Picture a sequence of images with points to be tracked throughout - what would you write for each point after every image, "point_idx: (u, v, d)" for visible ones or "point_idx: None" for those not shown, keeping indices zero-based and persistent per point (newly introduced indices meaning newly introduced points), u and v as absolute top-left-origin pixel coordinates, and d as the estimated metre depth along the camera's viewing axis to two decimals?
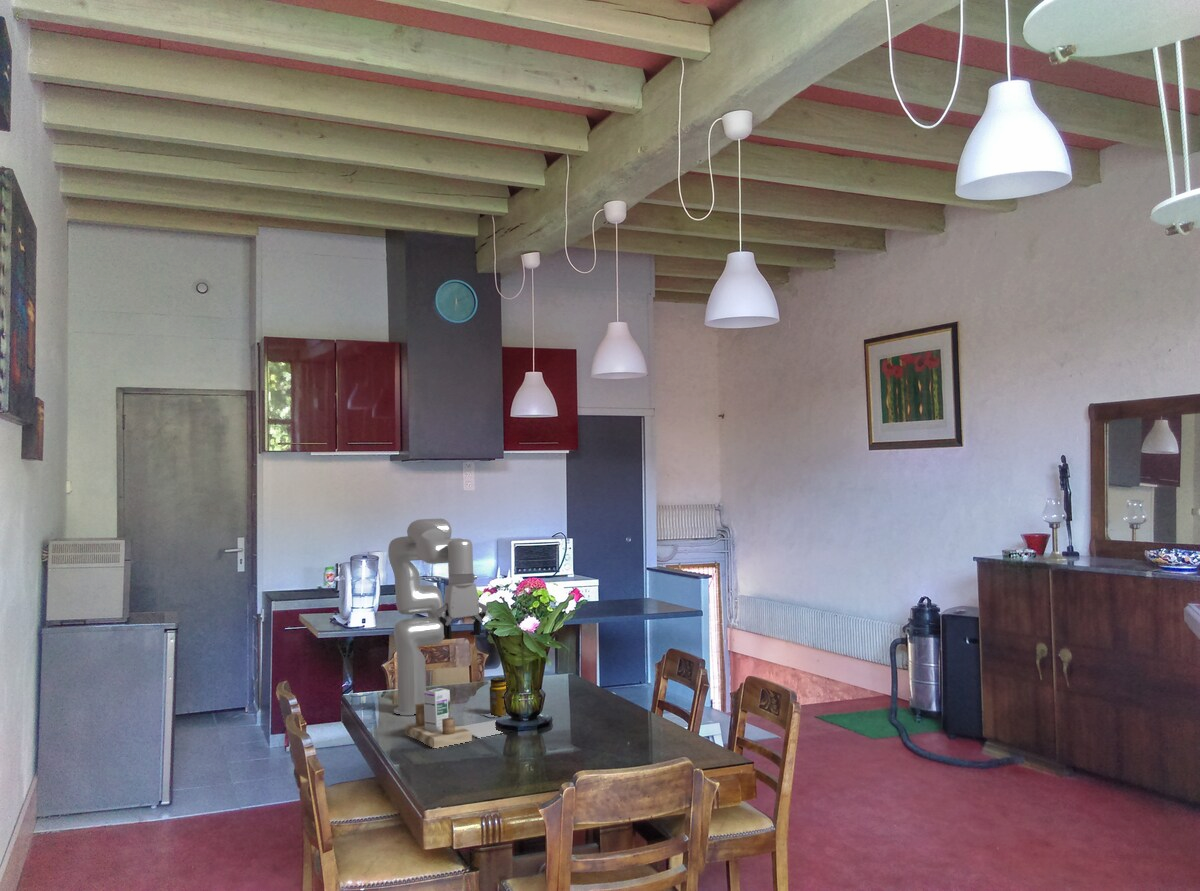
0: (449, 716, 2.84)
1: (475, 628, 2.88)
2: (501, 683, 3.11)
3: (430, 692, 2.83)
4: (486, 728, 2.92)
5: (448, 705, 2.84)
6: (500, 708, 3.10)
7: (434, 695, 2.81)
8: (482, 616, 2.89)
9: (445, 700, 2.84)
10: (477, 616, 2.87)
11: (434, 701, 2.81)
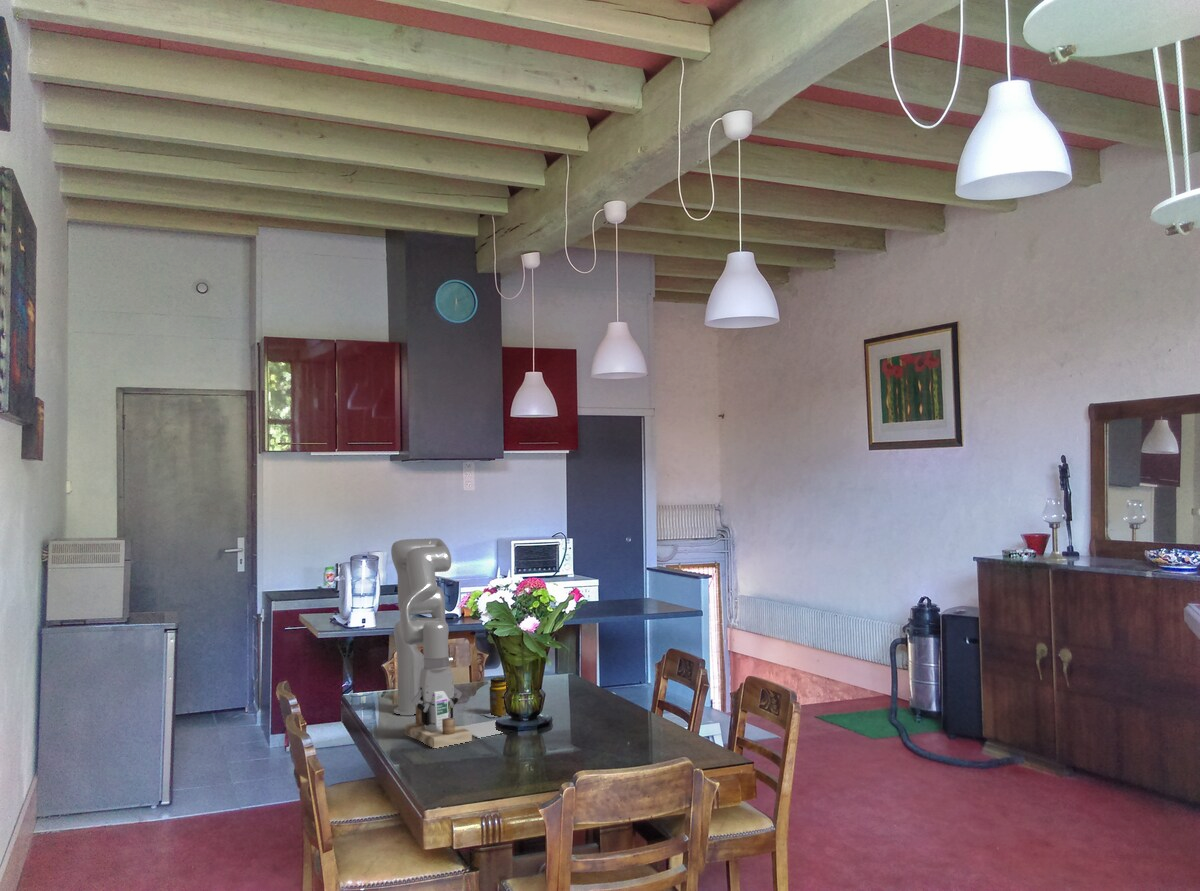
0: (449, 716, 2.84)
1: None
2: (501, 683, 3.11)
3: None
4: (486, 728, 2.92)
5: (448, 705, 2.84)
6: (500, 708, 3.10)
7: (434, 695, 2.81)
8: (454, 702, 2.87)
9: (445, 700, 2.84)
10: (450, 701, 2.85)
11: (434, 701, 2.81)
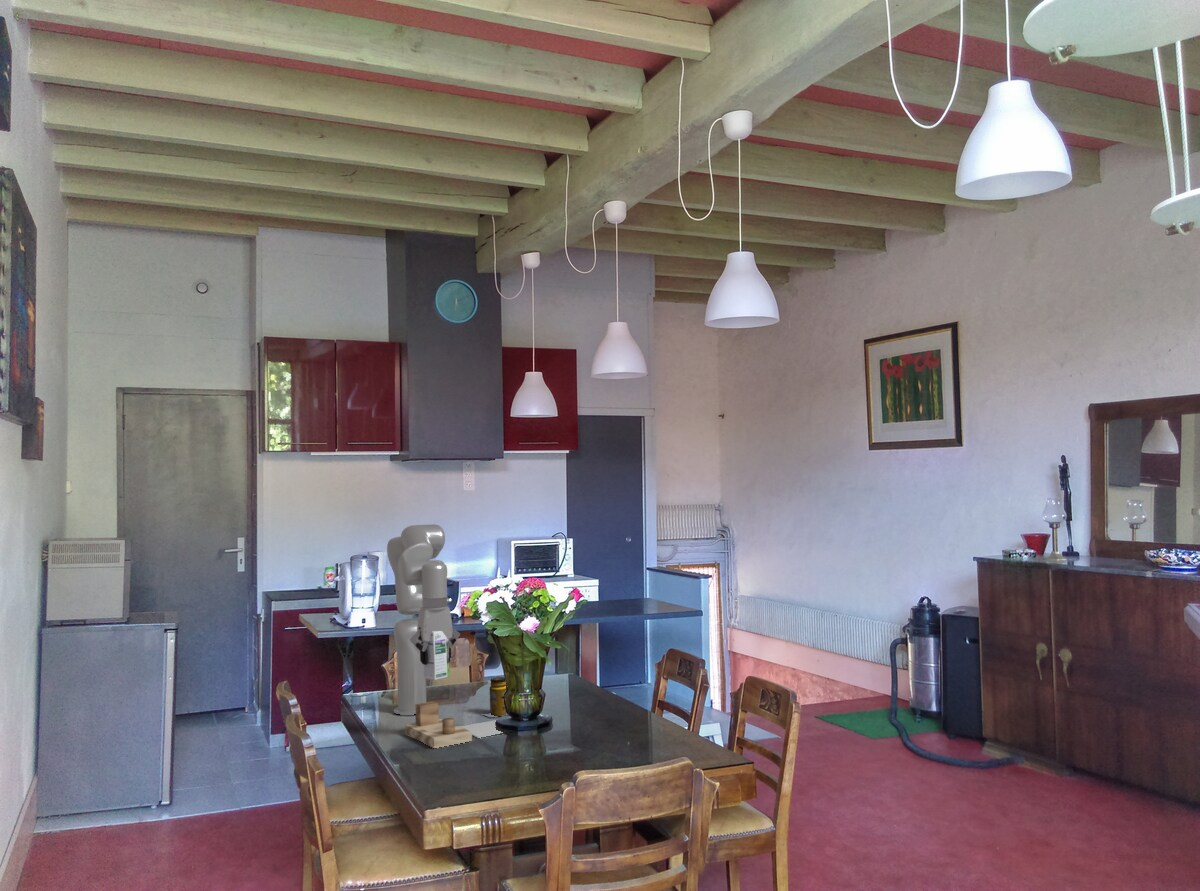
0: (447, 656, 2.86)
1: None
2: (501, 683, 3.11)
3: None
4: (486, 728, 2.92)
5: (446, 645, 2.86)
6: (500, 708, 3.10)
7: (433, 635, 2.82)
8: (452, 642, 2.88)
9: (443, 640, 2.85)
10: (448, 641, 2.87)
11: (432, 640, 2.82)
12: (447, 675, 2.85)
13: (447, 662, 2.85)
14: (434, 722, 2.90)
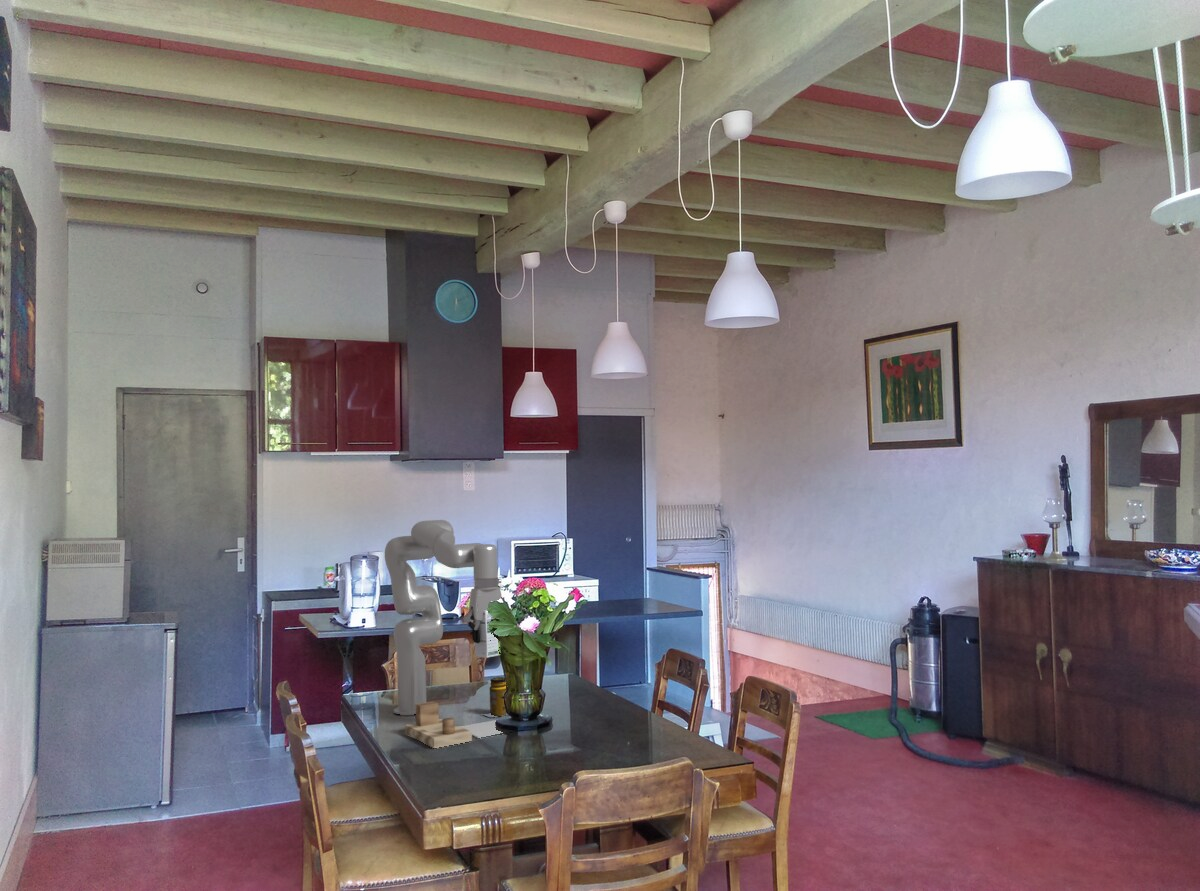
0: None
1: None
2: (501, 683, 3.11)
3: None
4: (486, 728, 2.92)
5: None
6: (500, 708, 3.10)
7: (485, 614, 2.91)
8: None
9: None
10: None
11: (484, 619, 2.91)
12: (498, 653, 2.93)
13: (498, 640, 2.94)
14: (434, 722, 2.90)
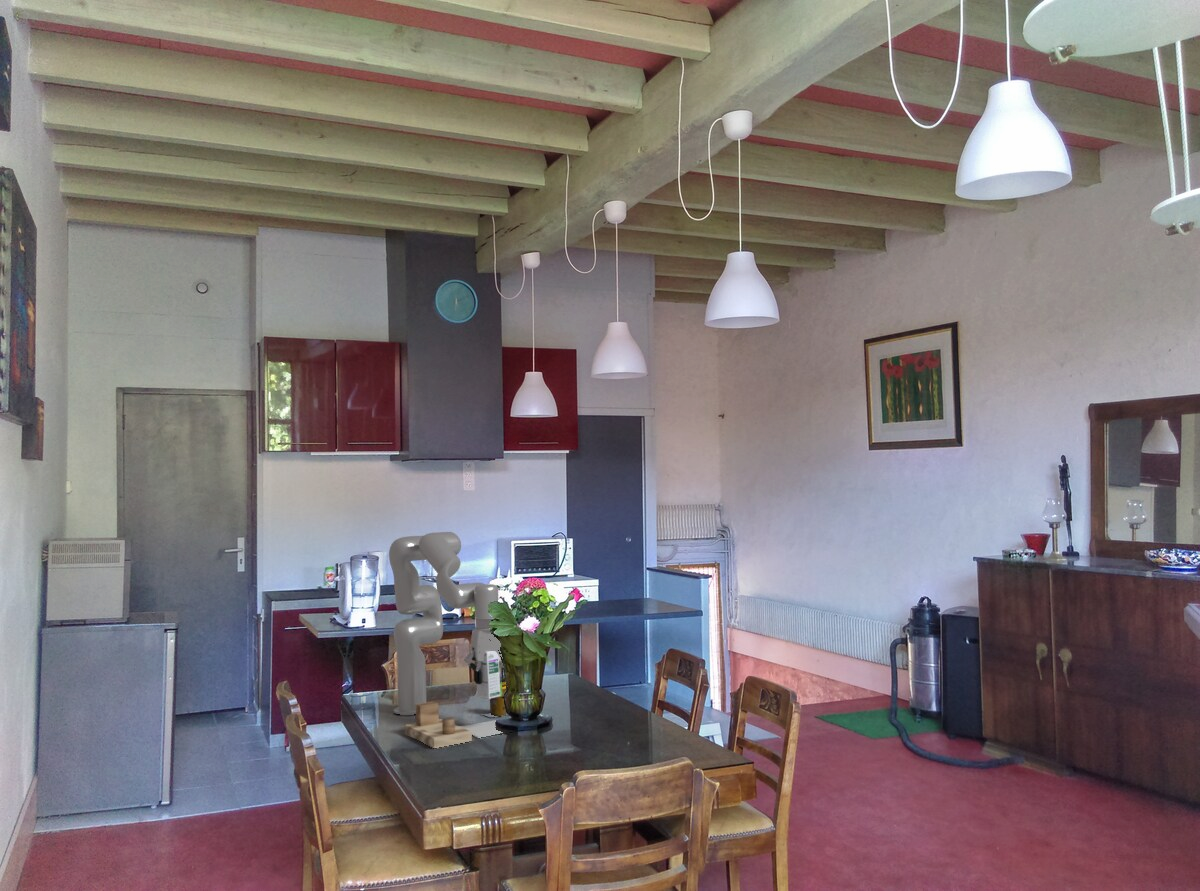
0: (500, 675, 2.93)
1: None
2: None
3: None
4: (486, 728, 2.92)
5: (499, 665, 2.93)
6: (500, 708, 3.10)
7: (486, 655, 2.90)
8: None
9: (496, 660, 2.93)
10: None
11: (486, 660, 2.90)
12: (500, 694, 2.92)
13: (500, 681, 2.93)
14: (434, 722, 2.90)
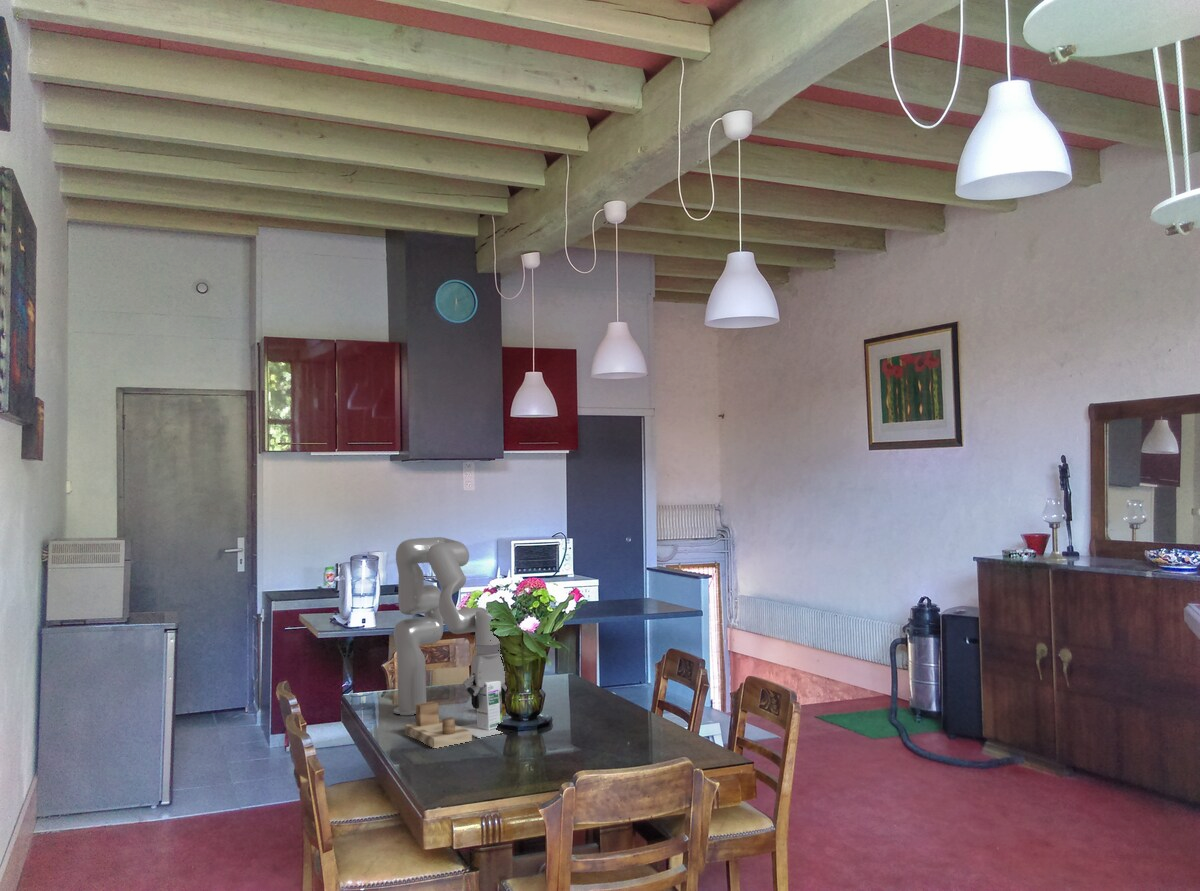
0: (500, 706, 2.92)
1: (501, 697, 2.95)
2: None
3: None
4: None
5: (499, 695, 2.93)
6: None
7: (486, 686, 2.89)
8: None
9: (496, 691, 2.92)
10: (503, 685, 2.95)
11: (486, 691, 2.89)
12: None
13: (500, 712, 2.92)
14: (434, 722, 2.90)
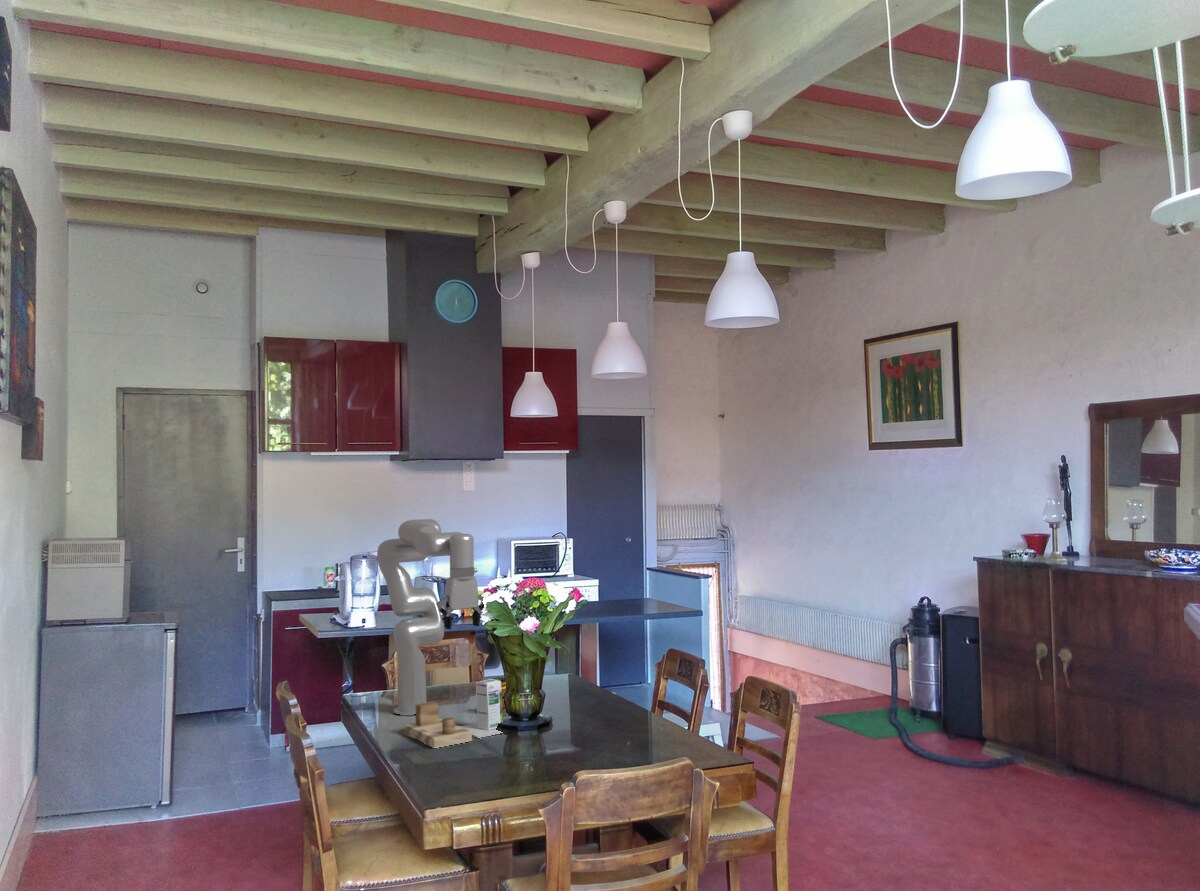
0: (500, 706, 2.93)
1: (474, 619, 3.00)
2: (501, 683, 3.11)
3: (482, 683, 2.91)
4: None
5: (500, 695, 2.93)
6: None
7: (486, 686, 2.90)
8: (481, 608, 3.00)
9: (497, 691, 2.92)
10: (476, 608, 2.99)
11: (486, 691, 2.90)
12: None
13: (500, 712, 2.92)
14: (434, 722, 2.90)
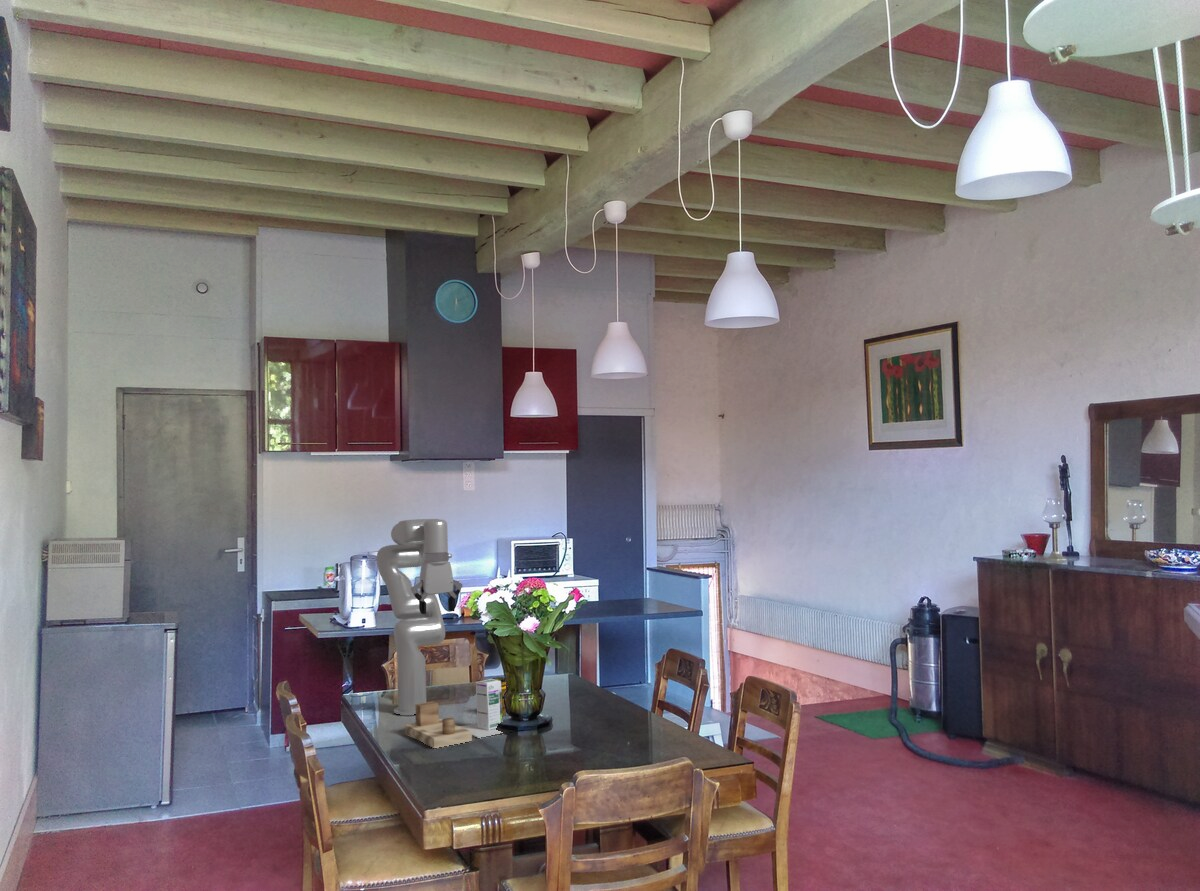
0: (500, 706, 2.93)
1: (450, 604, 3.02)
2: (501, 683, 3.11)
3: (482, 683, 2.91)
4: None
5: (500, 695, 2.93)
6: None
7: (486, 686, 2.90)
8: (456, 593, 3.03)
9: (497, 691, 2.92)
10: (451, 593, 3.01)
11: (486, 691, 2.90)
12: None
13: (500, 712, 2.92)
14: (434, 722, 2.90)
